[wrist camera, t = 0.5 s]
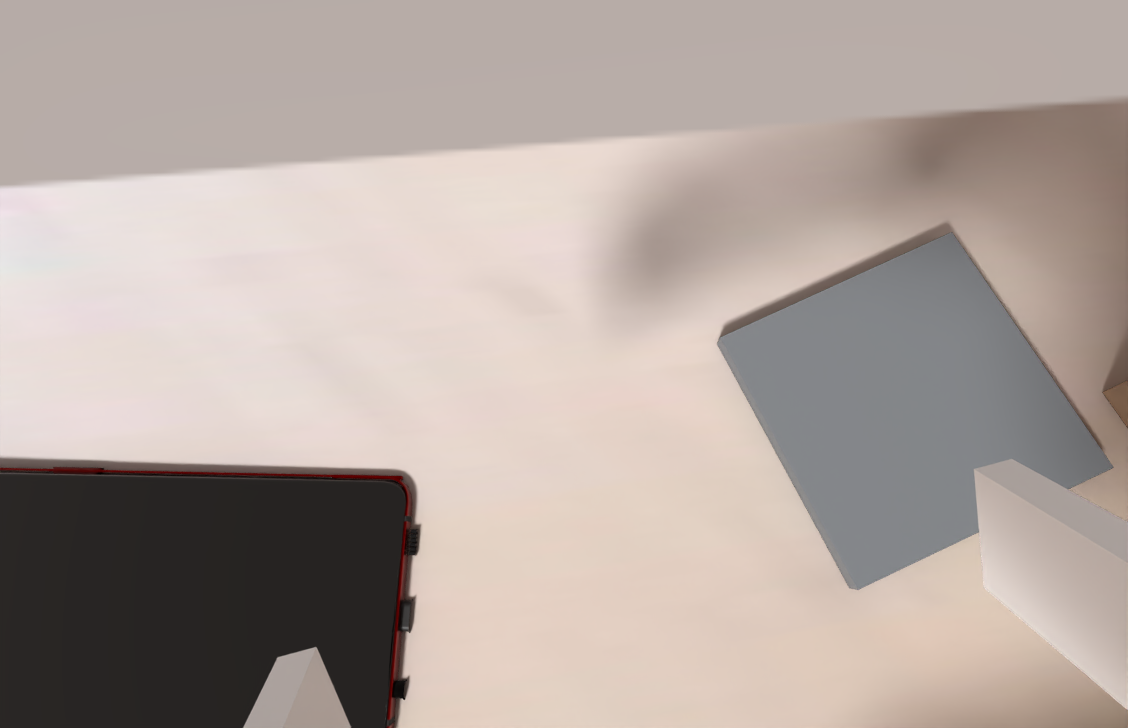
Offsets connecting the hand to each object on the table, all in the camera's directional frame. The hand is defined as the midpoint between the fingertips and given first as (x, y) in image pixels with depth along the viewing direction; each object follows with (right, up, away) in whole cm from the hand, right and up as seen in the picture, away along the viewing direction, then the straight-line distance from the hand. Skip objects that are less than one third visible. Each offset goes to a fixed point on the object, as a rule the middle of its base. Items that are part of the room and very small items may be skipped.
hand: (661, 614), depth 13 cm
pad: (+13, +3, +17) cm, 22 cm away
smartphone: (-21, -6, +18) cm, 28 cm away
